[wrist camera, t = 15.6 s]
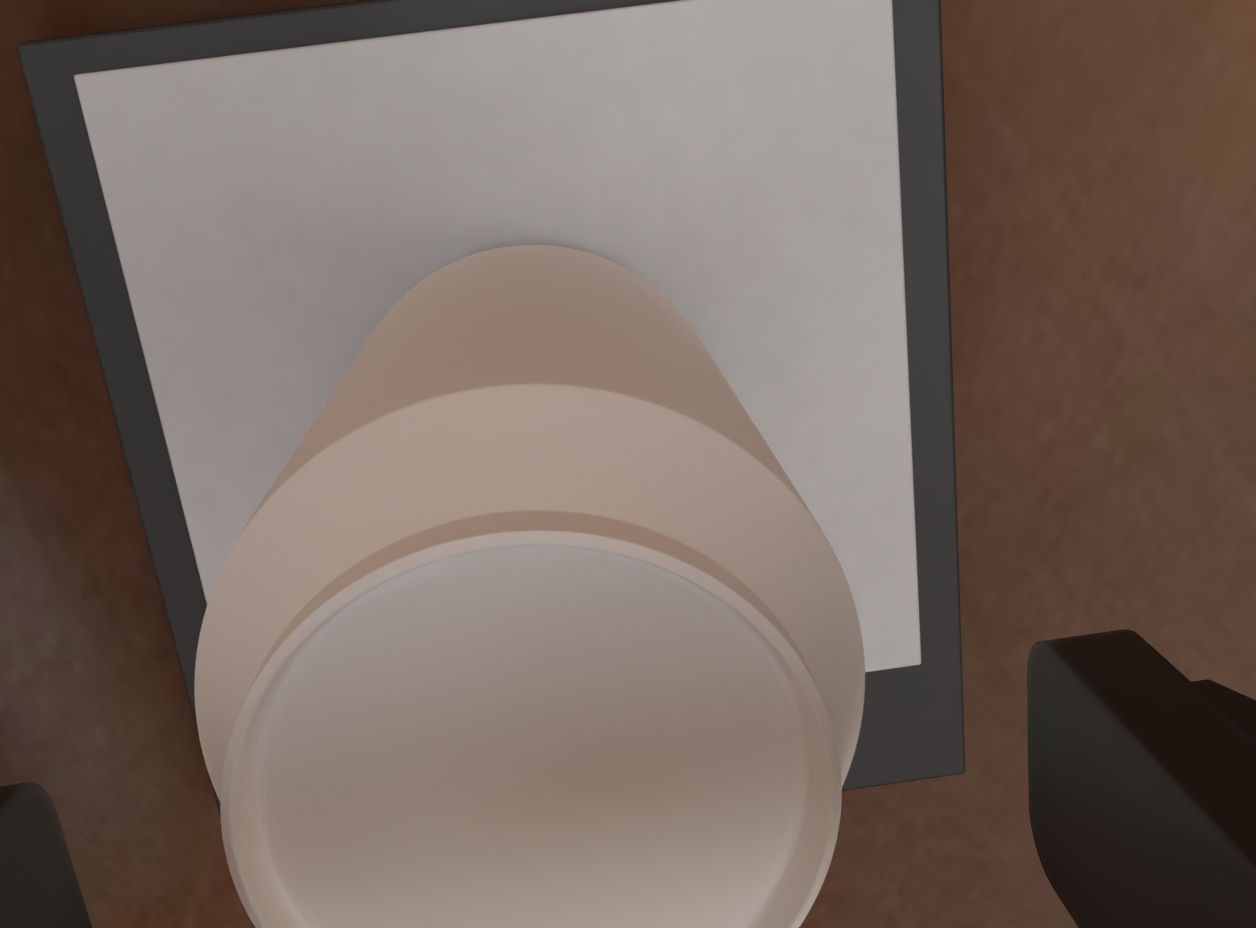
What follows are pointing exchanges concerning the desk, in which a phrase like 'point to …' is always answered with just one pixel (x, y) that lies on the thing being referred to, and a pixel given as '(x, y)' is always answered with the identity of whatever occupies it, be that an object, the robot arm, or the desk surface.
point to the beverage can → (530, 631)
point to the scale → (533, 215)
